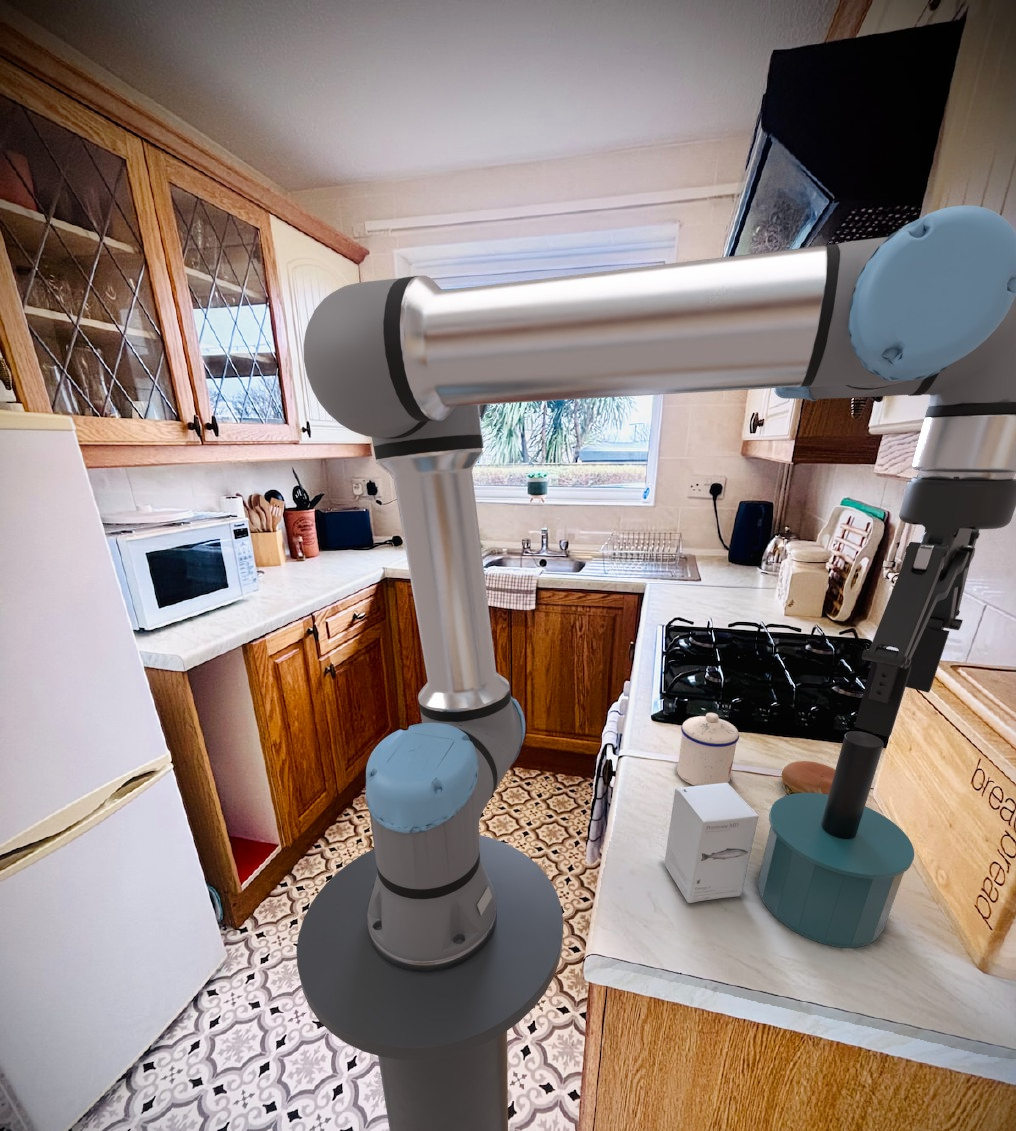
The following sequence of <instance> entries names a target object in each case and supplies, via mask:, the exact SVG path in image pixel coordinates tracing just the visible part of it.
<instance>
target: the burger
mask: <svg viewBox="0 0 1016 1131" xmlns="http://www.w3.org/2000/svg"><path fill="white" fill-rule="evenodd" d="M835 770H836V768H833V767H831V766H829V765H826V764H824V763H820V762H816V761H810V760H803V761H802V760H800V761H799V760H798V761H793V762H791V763H789V764H787V765H786V766H785V767H784V768H783V769H782V771H781V779H782V781H781V786H782V788H783V790H784V791H785V792H786V793H787V795H790V794H796V793H820V794H827V795H829V792H830V788H831V784H832V781H833V777H834V773H835Z"/></svg>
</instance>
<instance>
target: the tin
mask: <svg viewBox="0 0 1016 1131" xmlns="http://www.w3.org/2000/svg"><path fill="white" fill-rule="evenodd" d="M768 831H769V832H768V836H767V840H766V845H765V849H764V854H763V858H762V861H761V862H762V863H761V866H760V871H759V875H758V880H757V885H758V886H757V888H758V892H759V896H760V899H761V900H762V902H763V904H764V906H765V907H766V908H767V910H768V911H769V912H770V913H771V914H772V915H773V917H775V918H776V919H777V920H778V921H779V922H780V923H782V924H783V925H784V926H785V927H787V928H788V929H790V930H792V931H793V932H795V933H797V934H798V935H800V936H801V937H804V938H806V939H809V940H812V941H814V942H815V943H819V944H823V945H825V946H830V947H835V948H844V949H847V948H848V949H850V948H851V949H853V948H854V949H855V948H861V947H865V946H868V945H870V944H872V943H874V942H875V941H876V940H877V939H878V938H879V937H880V936H881V934H882V932H884V930H885V927H886V925H887V921H888V918H889V916H890V913H891V910H892V908H893V905H894V901H895V899H896V897H897V893H898V891H899V889H900V888H899V887H900V885H901V883H902V880H903V876H904V873H905V872H904V873H902V874H900V875H898V876H895V877H891V878H884V879H867V878H858V877H852V876H848V875H844V874H840V873H837V872H833V871H830V870H828V869H825V868H823V867H820V866H818V865H816V864H814V863H811V862H810V861H808V860H806V859H804V858H802V857H801V856H799V855H798V854H796V853H795V852H793V851H792V850H791V849H789V848H788V847H787V846H786V845H785V844H784V843H783V842H781V840H780V839H779V838H778V837H777V836H776V834H775V833H774V831H773V830H772V828H771V825H770V827H769V830H768Z"/></svg>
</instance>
